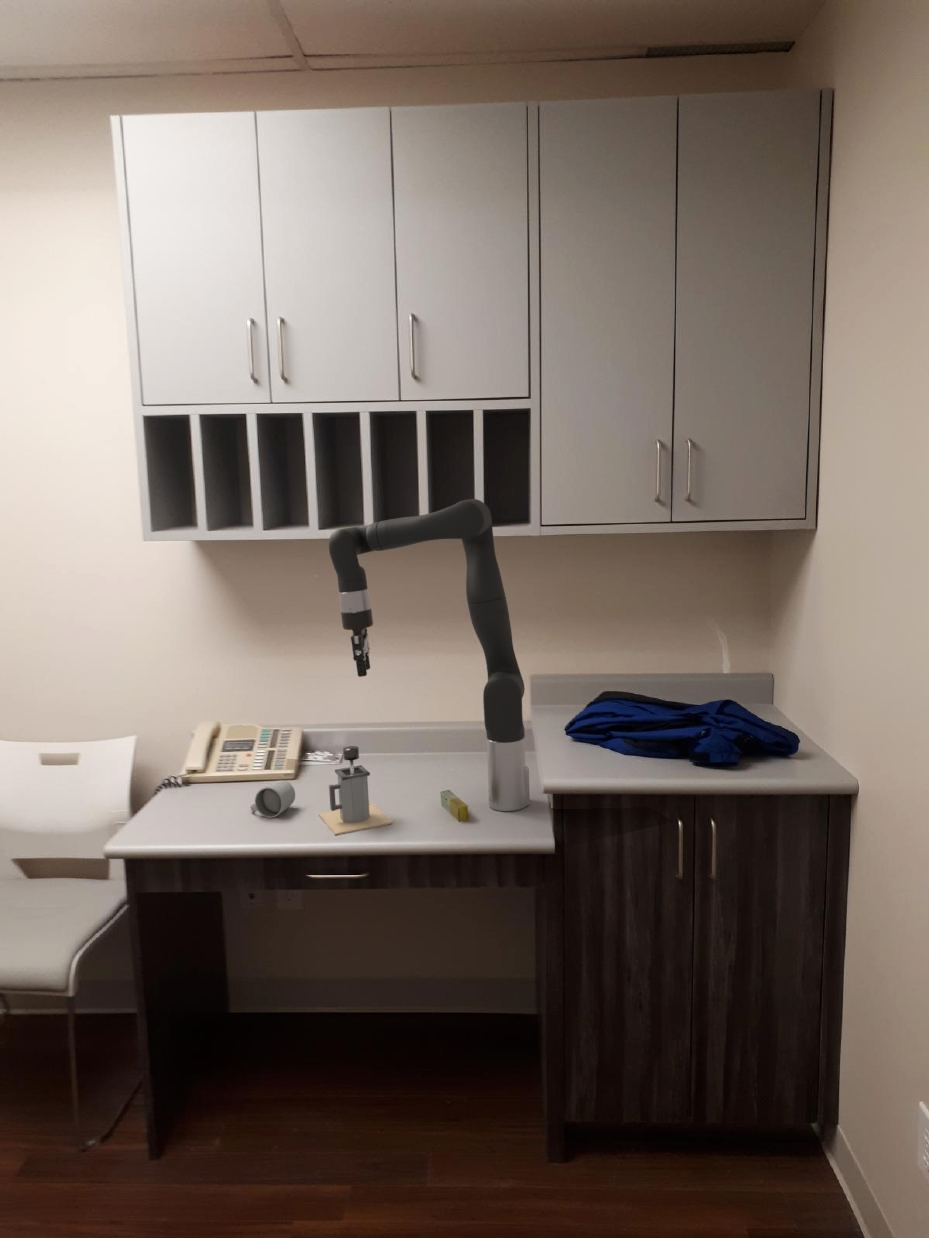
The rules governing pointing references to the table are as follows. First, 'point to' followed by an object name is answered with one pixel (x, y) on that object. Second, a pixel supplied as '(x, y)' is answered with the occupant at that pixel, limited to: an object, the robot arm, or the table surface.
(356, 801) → the carafe
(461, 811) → the medication box
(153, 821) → the table surface
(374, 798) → the table surface
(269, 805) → the ceramic mug
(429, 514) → the robot arm
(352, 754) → the plunger
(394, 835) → the table surface
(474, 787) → the table surface
